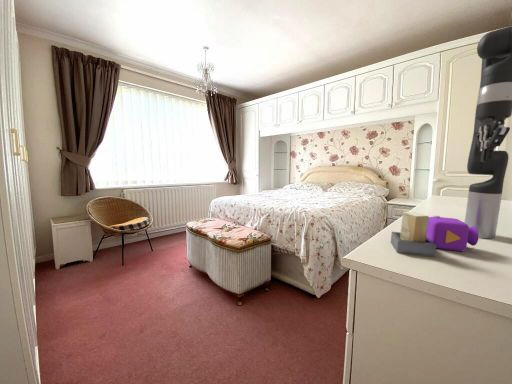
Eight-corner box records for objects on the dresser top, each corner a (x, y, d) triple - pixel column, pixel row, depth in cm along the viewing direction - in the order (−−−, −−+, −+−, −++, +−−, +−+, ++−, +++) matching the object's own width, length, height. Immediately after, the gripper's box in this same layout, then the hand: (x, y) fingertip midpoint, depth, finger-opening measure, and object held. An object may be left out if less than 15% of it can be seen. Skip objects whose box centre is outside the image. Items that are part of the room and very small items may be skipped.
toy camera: (485, 254, 72) (489, 224, 71) (435, 251, 75) (439, 221, 73) (461, 243, 82) (465, 215, 81) (419, 240, 85) (422, 213, 84)
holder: (390, 242, 82) (391, 231, 82) (423, 246, 79) (425, 234, 78) (397, 252, 73) (398, 240, 72) (434, 257, 69) (436, 244, 69)
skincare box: (398, 246, 78) (401, 211, 77) (410, 246, 79) (414, 211, 77) (412, 253, 72) (416, 215, 70) (425, 253, 72) (429, 215, 71)
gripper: (529, 94, 60) (518, 161, 62) (496, 106, 72) (488, 161, 74) (492, 97, 62) (482, 161, 65) (467, 108, 75) (460, 161, 77)
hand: (486, 161), depth 69 cm, fingers closed
